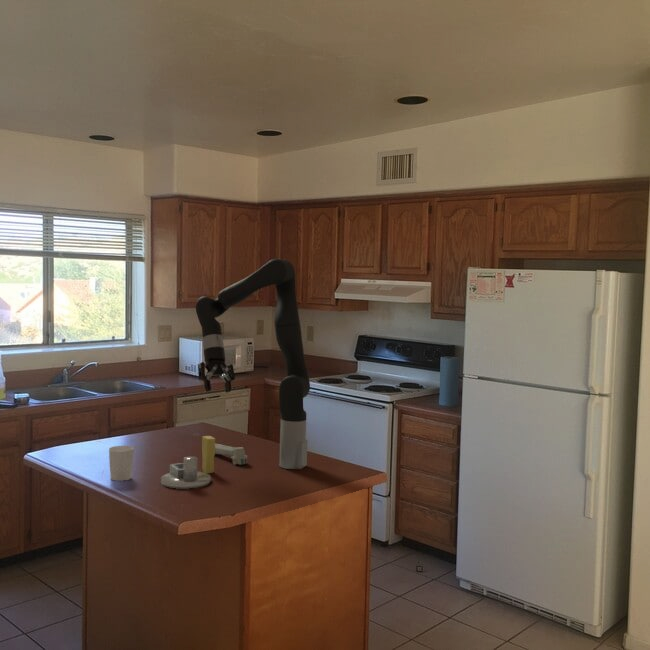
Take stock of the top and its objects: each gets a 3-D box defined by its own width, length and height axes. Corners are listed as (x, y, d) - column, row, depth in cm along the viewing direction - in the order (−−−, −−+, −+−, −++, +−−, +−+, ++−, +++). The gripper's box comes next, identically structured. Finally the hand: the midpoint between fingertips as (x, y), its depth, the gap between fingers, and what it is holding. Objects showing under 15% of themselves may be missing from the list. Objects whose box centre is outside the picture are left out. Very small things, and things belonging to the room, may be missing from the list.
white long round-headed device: (212, 440, 271) (249, 444, 252) (213, 458, 271) (250, 463, 252) (201, 442, 268) (237, 446, 249) (201, 460, 267) (238, 465, 249)
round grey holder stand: (154, 478, 231) (154, 452, 230) (199, 473, 239) (200, 448, 238) (170, 491, 217) (171, 464, 216) (218, 485, 225) (219, 458, 225)
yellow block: (201, 470, 242) (202, 436, 242) (209, 469, 244) (209, 435, 243) (206, 473, 238) (207, 439, 238) (214, 472, 240) (215, 438, 239)
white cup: (120, 483, 224) (120, 452, 224) (103, 478, 228) (103, 448, 228) (138, 477, 231) (139, 448, 230) (122, 473, 235) (122, 444, 235)
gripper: (203, 344, 248) (207, 388, 243) (235, 347, 258) (240, 389, 253) (191, 350, 253) (196, 393, 248) (223, 353, 263) (228, 395, 258)
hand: (218, 391), depth 250 cm, fingers open, 8 cm apart
